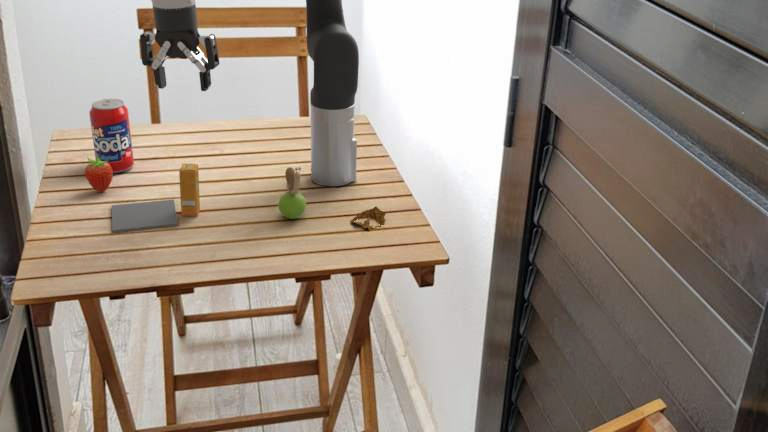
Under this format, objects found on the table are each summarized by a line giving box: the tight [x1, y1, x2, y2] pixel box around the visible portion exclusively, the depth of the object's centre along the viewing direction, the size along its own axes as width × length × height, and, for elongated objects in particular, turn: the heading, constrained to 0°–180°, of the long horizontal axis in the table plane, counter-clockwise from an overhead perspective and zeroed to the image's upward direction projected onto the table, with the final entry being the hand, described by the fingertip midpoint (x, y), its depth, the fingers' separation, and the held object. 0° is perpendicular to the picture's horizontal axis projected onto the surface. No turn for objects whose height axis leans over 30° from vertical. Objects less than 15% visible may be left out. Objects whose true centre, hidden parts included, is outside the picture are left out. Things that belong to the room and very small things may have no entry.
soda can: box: [88, 98, 135, 174], centre depth 180 cm, size 8×8×15 cm
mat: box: [111, 199, 179, 234], centre depth 163 cm, size 12×11×1 cm
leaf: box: [350, 206, 386, 231], centre depth 164 cm, size 6×7×2 cm
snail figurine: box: [277, 166, 307, 220], centre depth 161 cm, size 5×6×12 cm
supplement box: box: [178, 162, 201, 217], centre depth 163 cm, size 3×3×10 cm
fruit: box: [84, 156, 114, 193], centre depth 171 cm, size 5×5×8 cm
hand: (183, 88), depth 157 cm, fingers open, 8 cm apart
